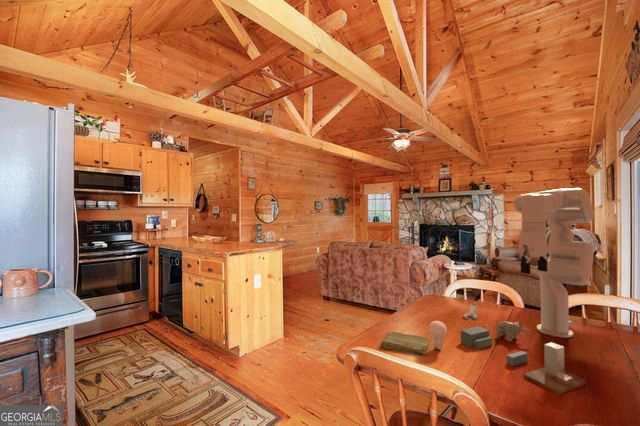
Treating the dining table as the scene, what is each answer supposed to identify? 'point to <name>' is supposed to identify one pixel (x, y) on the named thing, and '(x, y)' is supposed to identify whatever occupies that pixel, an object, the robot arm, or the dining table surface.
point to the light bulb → (437, 333)
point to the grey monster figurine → (509, 330)
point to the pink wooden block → (555, 363)
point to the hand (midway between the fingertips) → (534, 272)
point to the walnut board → (553, 385)
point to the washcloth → (406, 343)
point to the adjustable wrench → (471, 313)
